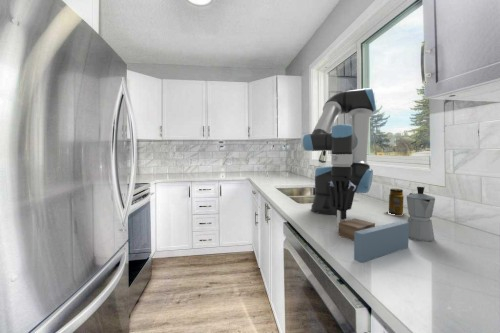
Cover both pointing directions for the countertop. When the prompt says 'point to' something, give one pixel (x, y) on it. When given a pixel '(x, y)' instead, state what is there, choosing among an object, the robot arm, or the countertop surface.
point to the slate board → (380, 240)
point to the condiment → (396, 202)
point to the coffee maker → (420, 216)
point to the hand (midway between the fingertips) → (340, 226)
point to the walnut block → (353, 227)
